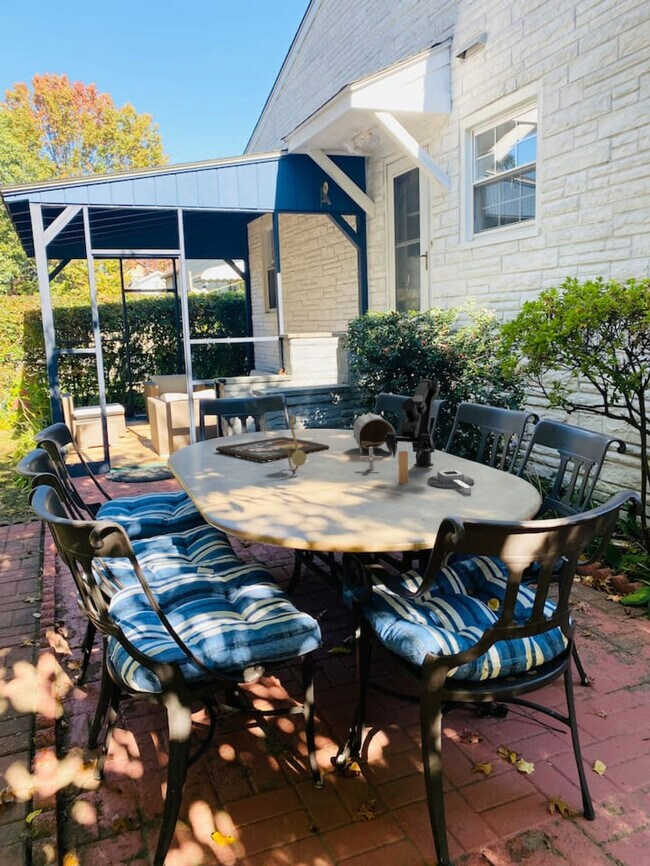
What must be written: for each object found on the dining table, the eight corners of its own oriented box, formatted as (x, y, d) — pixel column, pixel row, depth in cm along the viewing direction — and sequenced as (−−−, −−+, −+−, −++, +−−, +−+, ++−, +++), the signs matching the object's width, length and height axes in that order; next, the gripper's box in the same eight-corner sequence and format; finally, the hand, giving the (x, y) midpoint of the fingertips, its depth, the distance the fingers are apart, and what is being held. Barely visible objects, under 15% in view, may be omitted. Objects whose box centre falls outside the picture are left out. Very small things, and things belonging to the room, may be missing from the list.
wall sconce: (310, 472, 280) (307, 415, 276) (289, 475, 276) (286, 417, 272) (298, 466, 293) (296, 411, 289) (279, 468, 289) (276, 413, 285)
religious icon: (213, 453, 331) (213, 447, 331) (282, 441, 361) (282, 435, 360) (260, 464, 302) (260, 458, 301) (330, 450, 332) (330, 444, 331)
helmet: (398, 457, 310) (385, 443, 339) (398, 419, 306) (385, 409, 335) (360, 459, 307) (350, 445, 336) (359, 421, 304) (349, 410, 333)
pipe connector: (381, 472, 276) (381, 449, 274) (358, 472, 278) (357, 449, 276) (384, 467, 285) (383, 445, 284) (361, 467, 287) (361, 444, 286)
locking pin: (403, 481, 259) (402, 450, 257) (409, 482, 256) (409, 452, 254) (397, 483, 257) (396, 452, 255) (404, 484, 254) (403, 453, 252)
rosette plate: (421, 479, 262) (421, 469, 261) (463, 476, 265) (463, 466, 264) (444, 496, 235) (444, 485, 235) (491, 492, 238) (491, 481, 238)
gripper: (385, 413, 263) (377, 444, 255) (430, 414, 256) (424, 446, 248) (391, 429, 271) (384, 460, 263) (435, 430, 264) (429, 462, 256)
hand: (404, 457), depth 257 cm, fingers open, 9 cm apart
